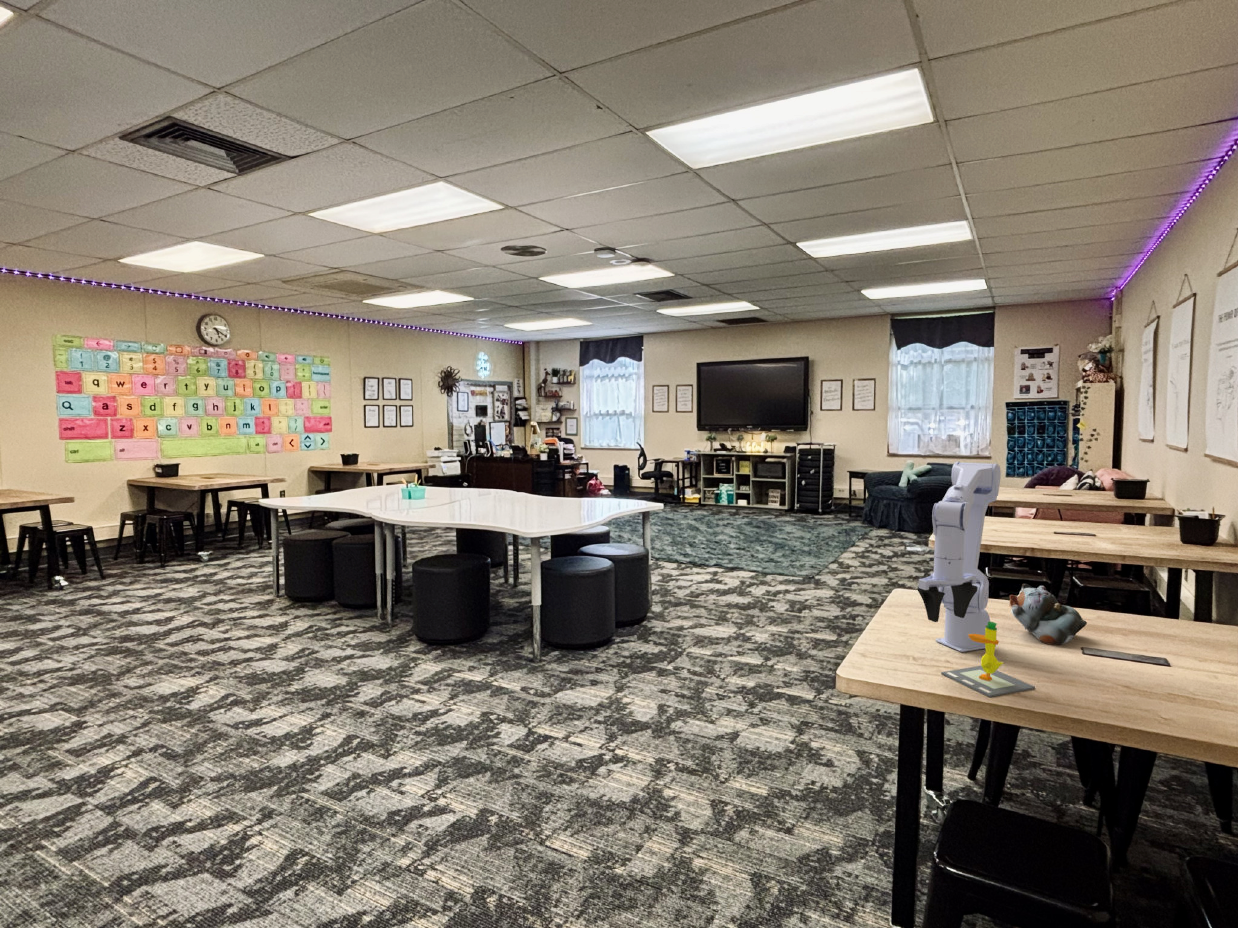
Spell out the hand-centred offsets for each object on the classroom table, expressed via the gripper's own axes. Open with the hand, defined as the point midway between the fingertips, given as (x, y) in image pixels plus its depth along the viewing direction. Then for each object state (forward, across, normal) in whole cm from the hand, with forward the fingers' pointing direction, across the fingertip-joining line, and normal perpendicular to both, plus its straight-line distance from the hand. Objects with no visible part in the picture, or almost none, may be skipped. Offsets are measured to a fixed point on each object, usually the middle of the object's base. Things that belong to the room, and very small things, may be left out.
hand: (946, 618), depth 145 cm
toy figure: (+10, -1, +9) cm, 14 cm away
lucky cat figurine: (+11, -38, -5) cm, 40 cm away
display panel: (+10, -1, +10) cm, 14 cm away
